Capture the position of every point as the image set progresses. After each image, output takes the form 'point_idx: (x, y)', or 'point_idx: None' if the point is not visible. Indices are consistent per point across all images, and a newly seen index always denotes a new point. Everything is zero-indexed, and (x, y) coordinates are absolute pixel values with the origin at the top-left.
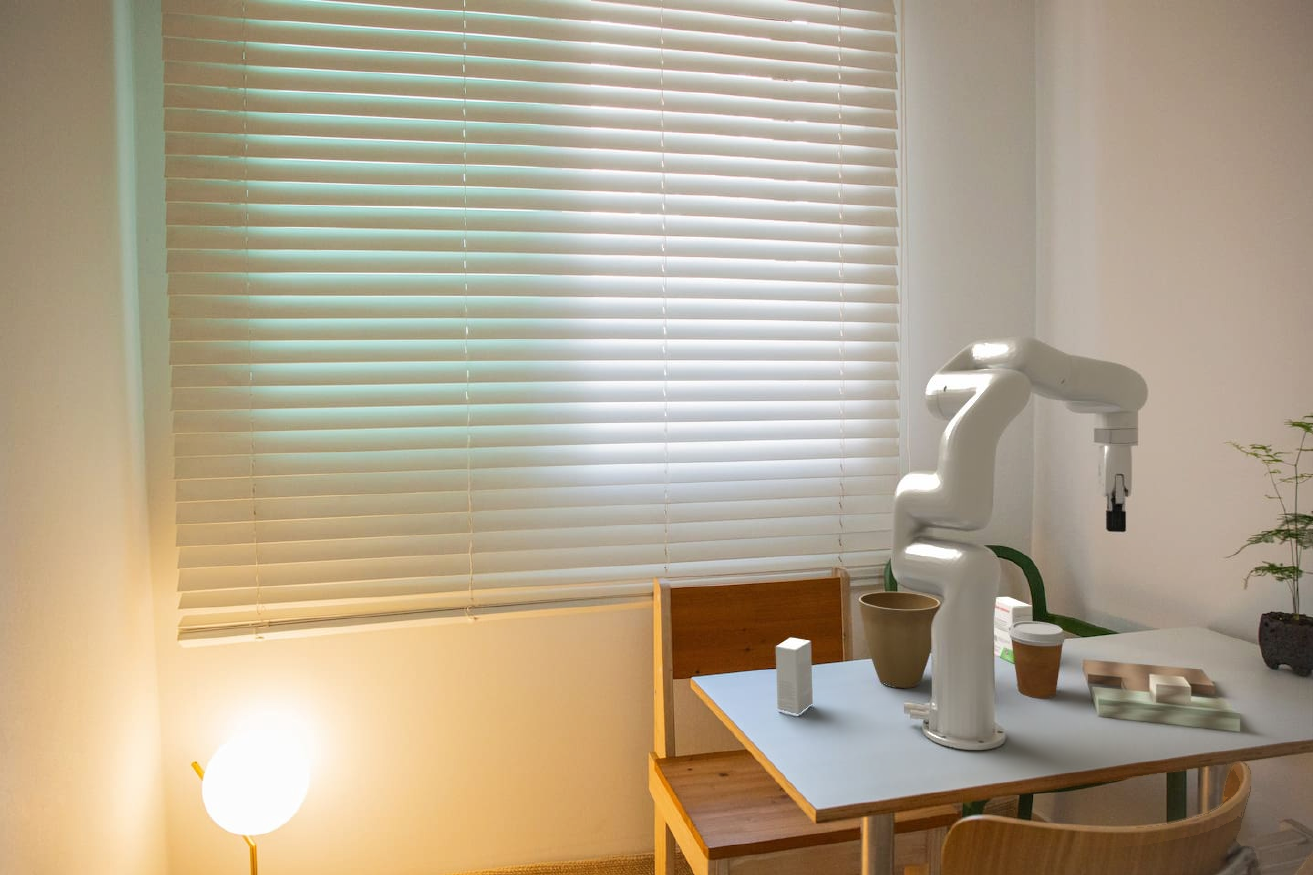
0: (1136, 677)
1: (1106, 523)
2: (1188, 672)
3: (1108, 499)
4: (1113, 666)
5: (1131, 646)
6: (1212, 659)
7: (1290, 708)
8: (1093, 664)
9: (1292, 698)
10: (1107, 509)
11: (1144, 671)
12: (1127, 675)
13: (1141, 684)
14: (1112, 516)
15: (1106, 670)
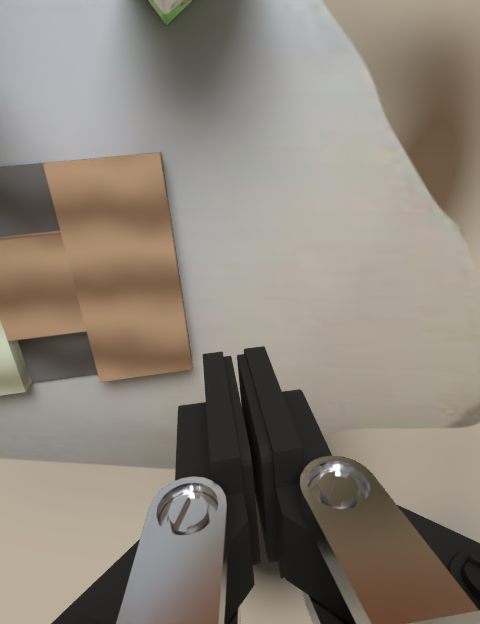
0: (75, 262)
1: (251, 371)
2: (161, 348)
3: (353, 592)
4: (133, 219)
5: (370, 255)
6: (323, 378)
7: (104, 453)
8: (127, 177)
9: (155, 458)
10: (310, 463)
11: (127, 277)
12: (79, 245)
13: (30, 270)
14: (178, 465)
15: (94, 204)
